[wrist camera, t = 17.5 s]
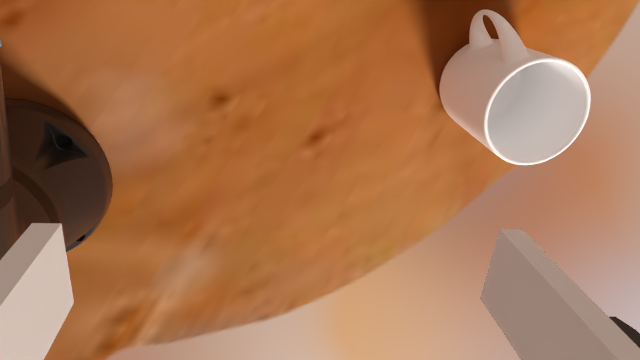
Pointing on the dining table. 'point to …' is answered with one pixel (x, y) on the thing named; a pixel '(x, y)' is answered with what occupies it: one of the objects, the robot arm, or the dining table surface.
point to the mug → (514, 94)
